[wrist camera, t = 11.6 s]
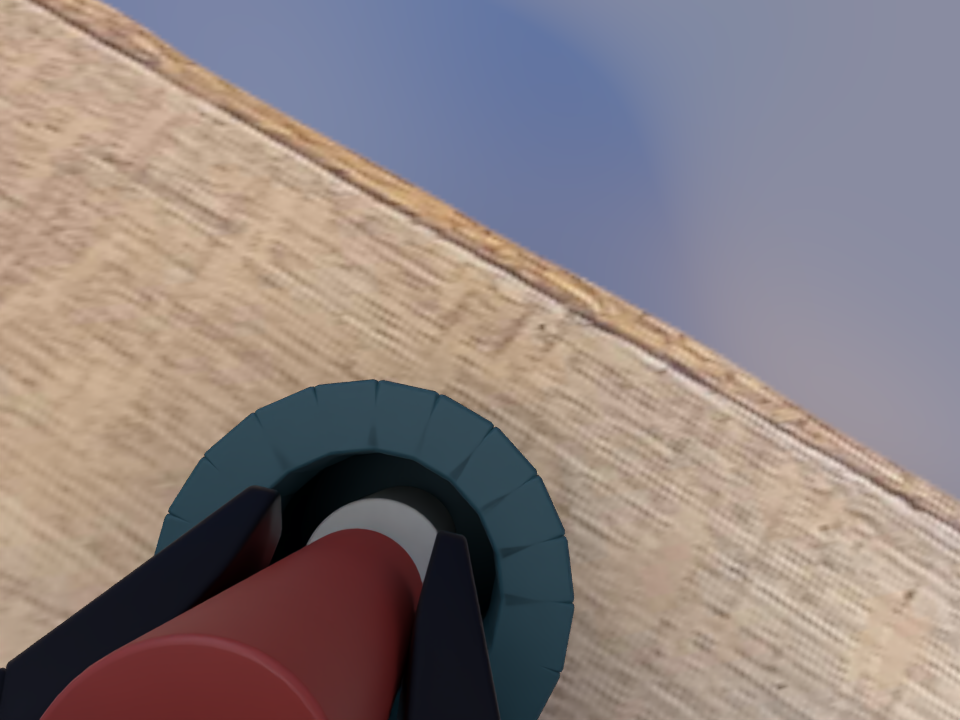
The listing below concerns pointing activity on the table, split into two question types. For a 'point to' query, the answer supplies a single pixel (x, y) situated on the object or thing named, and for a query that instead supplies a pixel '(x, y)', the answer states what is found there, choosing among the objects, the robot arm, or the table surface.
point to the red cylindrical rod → (284, 631)
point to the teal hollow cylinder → (421, 464)
